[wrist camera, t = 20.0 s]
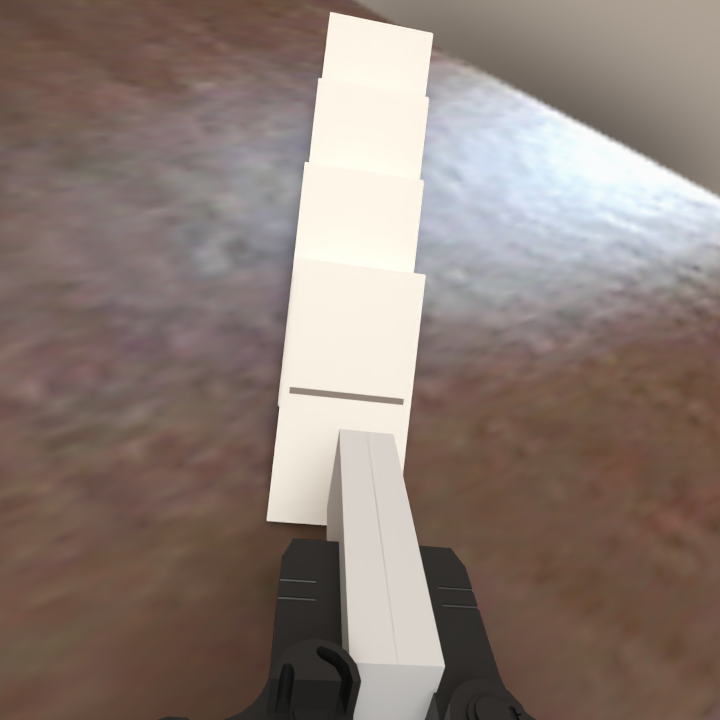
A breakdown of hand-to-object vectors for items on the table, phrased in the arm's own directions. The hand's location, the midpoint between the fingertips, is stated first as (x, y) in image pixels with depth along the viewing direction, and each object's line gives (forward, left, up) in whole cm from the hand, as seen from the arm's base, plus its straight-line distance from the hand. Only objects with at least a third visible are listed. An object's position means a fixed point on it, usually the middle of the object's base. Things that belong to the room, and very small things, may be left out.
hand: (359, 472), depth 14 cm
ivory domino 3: (-2, +3, -7) cm, 8 cm away
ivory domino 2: (-5, +6, -7) cm, 11 cm away
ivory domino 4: (+1, -1, -7) cm, 7 cm away
